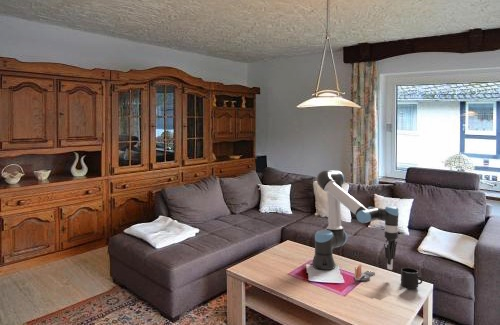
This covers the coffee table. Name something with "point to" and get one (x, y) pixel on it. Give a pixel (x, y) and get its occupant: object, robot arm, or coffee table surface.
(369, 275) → the pad
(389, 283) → the coffee table surface
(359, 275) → the crank
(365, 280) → the crank base
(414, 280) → the mug
